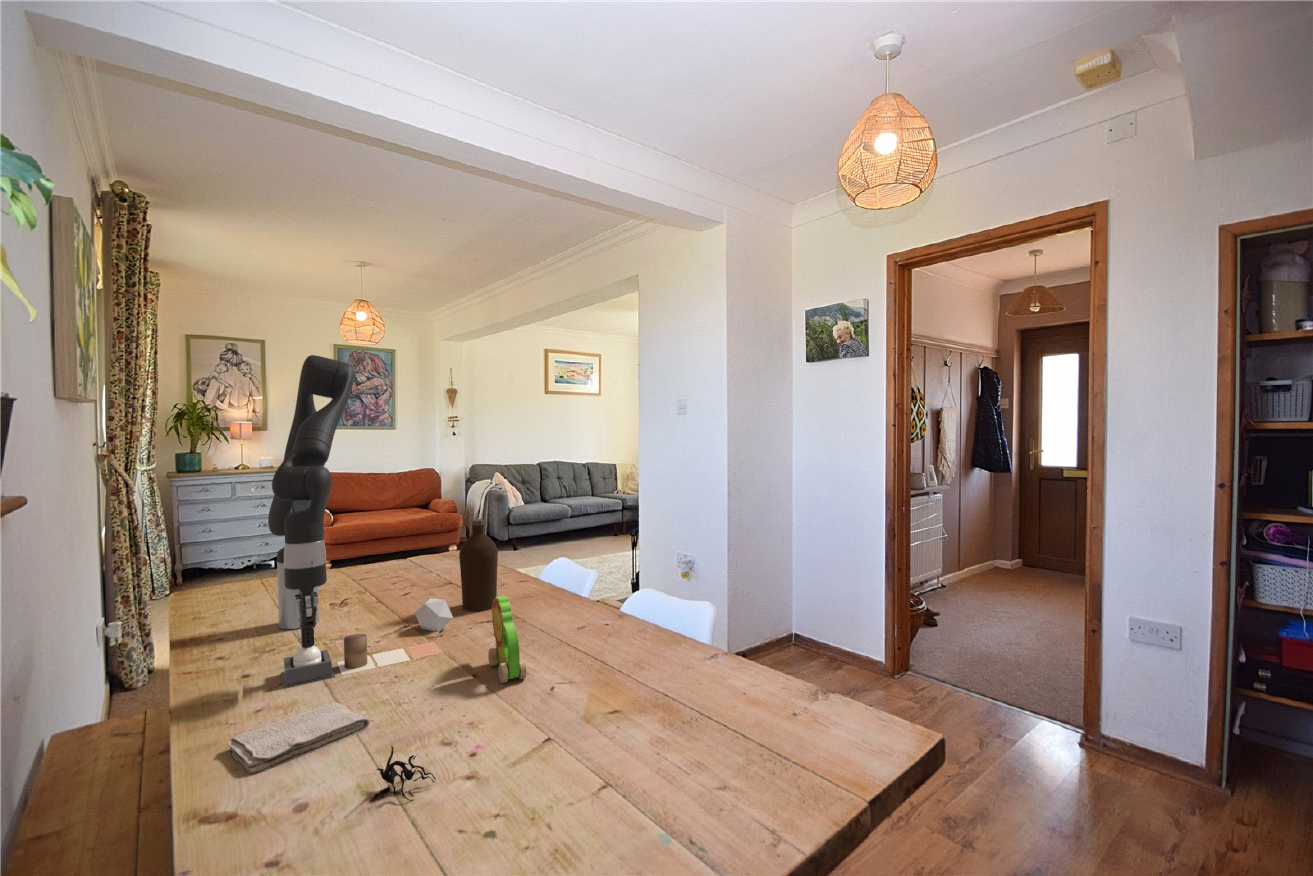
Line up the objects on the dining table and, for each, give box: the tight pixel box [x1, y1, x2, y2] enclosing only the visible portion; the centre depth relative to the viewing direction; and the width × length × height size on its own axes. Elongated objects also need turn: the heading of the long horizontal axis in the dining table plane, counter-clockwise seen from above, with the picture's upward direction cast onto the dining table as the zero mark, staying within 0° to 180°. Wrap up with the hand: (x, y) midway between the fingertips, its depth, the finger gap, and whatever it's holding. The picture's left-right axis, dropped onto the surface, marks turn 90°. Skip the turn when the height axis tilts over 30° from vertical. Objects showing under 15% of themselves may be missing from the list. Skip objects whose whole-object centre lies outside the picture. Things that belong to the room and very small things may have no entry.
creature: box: [375, 745, 437, 802], centre depth 86 cm, size 8×5×8 cm
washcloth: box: [226, 702, 370, 774], centre depth 99 cm, size 12×18×3 cm, turn 142°
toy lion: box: [487, 595, 527, 684], centre depth 127 cm, size 16×5×15 cm, turn 27°
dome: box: [293, 645, 321, 668], centre depth 123 cm, size 5×5×6 cm
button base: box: [280, 649, 336, 689], centre depth 123 cm, size 9×9×4 cm
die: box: [414, 597, 454, 633], centre depth 152 cm, size 8×9×10 cm
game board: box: [336, 641, 444, 676], centre depth 132 cm, size 10×22×1 cm, turn 124°
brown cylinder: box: [343, 633, 368, 669], centre depth 128 cm, size 4×4×6 cm
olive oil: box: [458, 518, 499, 612], centre depth 172 cm, size 11×11×25 cm
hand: (307, 646), depth 123 cm, fingers closed
